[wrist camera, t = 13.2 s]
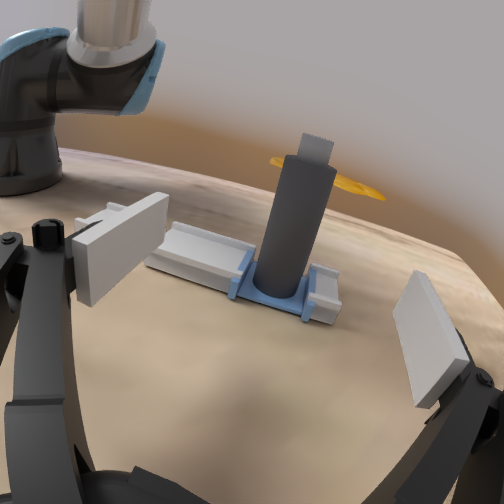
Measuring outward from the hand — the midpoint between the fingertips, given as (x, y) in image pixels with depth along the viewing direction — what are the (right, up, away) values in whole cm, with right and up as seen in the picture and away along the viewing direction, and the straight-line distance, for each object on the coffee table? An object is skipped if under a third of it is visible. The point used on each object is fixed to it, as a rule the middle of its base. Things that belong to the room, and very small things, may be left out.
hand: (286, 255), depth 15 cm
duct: (-6, -1, +13) cm, 14 cm away
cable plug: (0, -3, +12) cm, 12 cm away
